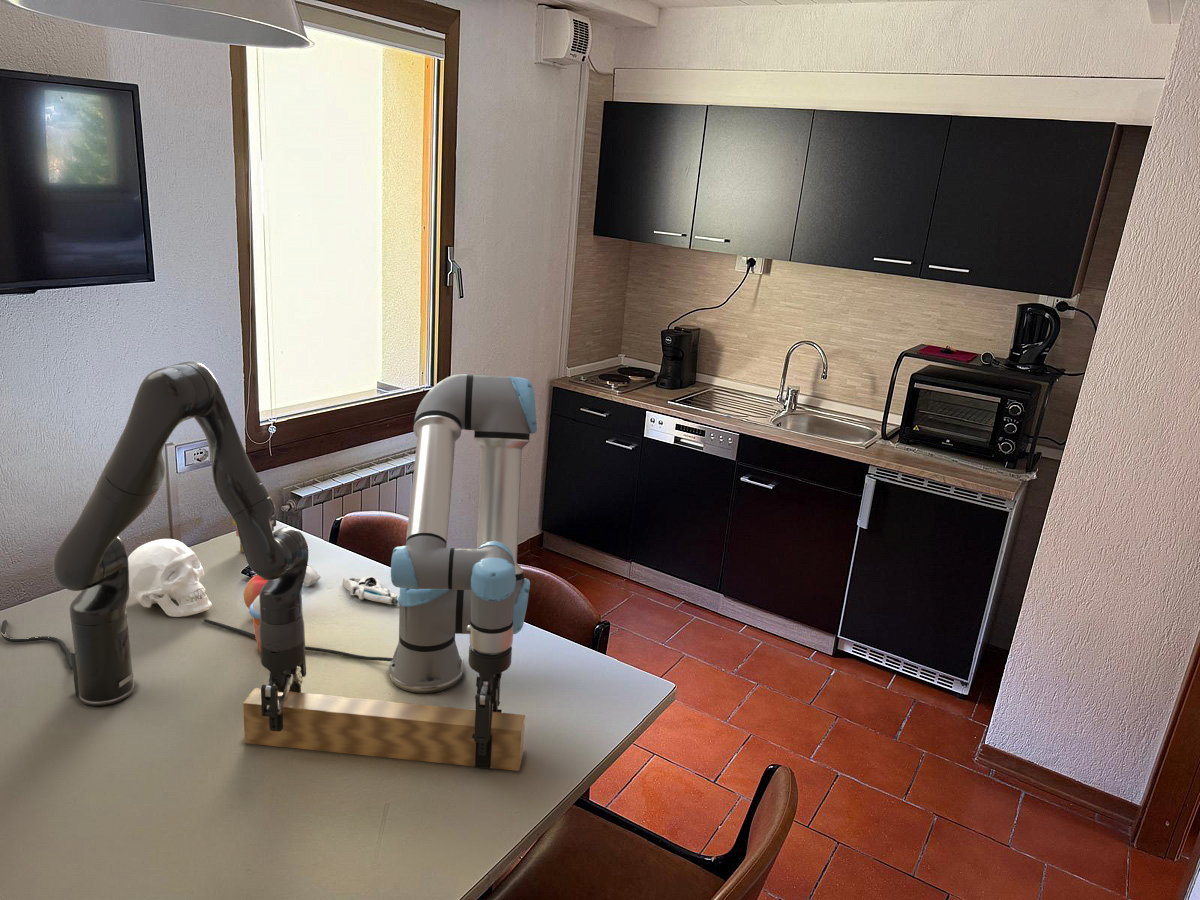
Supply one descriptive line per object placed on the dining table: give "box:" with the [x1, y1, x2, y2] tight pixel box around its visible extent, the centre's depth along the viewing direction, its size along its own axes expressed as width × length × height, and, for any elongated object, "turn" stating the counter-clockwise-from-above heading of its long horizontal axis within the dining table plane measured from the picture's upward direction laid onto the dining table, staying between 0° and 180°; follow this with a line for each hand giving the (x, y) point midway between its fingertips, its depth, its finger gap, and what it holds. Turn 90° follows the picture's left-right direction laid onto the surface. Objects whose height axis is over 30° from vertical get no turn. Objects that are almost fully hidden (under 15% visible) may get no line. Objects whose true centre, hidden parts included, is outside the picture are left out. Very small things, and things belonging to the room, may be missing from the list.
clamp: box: [303, 564, 322, 587], centre depth 219 cm, size 20×4×7 cm, turn 62°
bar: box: [242, 687, 526, 772], centre depth 157 cm, size 51×5×8 cm, turn 87°
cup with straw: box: [248, 595, 261, 654], centre depth 184 cm, size 9×9×18 cm
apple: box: [243, 574, 268, 610], centre depth 199 cm, size 10×10×10 cm
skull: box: [128, 538, 213, 618], centre depth 200 cm, size 13×22×16 cm, turn 73°
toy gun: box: [342, 576, 399, 605], centre depth 214 cm, size 18×2×10 cm
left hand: (285, 716), depth 157 cm, fingers open, 8 cm apart
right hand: (485, 756), depth 157 cm, fingers closed on bar, 5 cm apart
